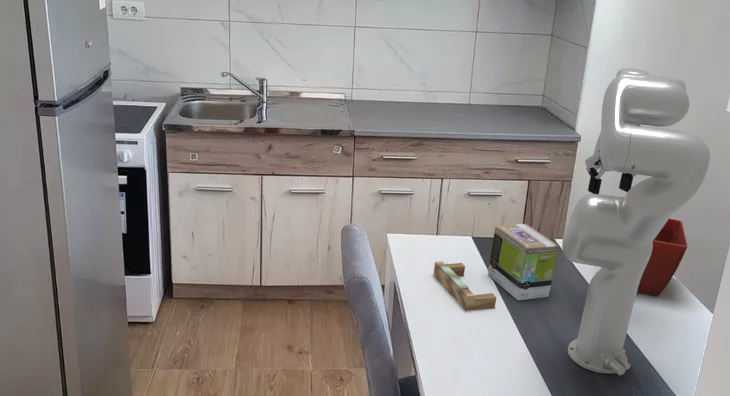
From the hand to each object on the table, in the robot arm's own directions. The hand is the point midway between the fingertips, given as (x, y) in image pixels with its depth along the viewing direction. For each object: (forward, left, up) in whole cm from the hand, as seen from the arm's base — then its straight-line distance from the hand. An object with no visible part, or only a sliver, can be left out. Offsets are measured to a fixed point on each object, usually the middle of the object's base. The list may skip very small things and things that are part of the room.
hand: (608, 191), depth 169 cm
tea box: (+11, +14, -30) cm, 35 cm away
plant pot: (+7, -20, -30) cm, 37 cm away
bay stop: (+11, +30, -30) cm, 43 cm away
